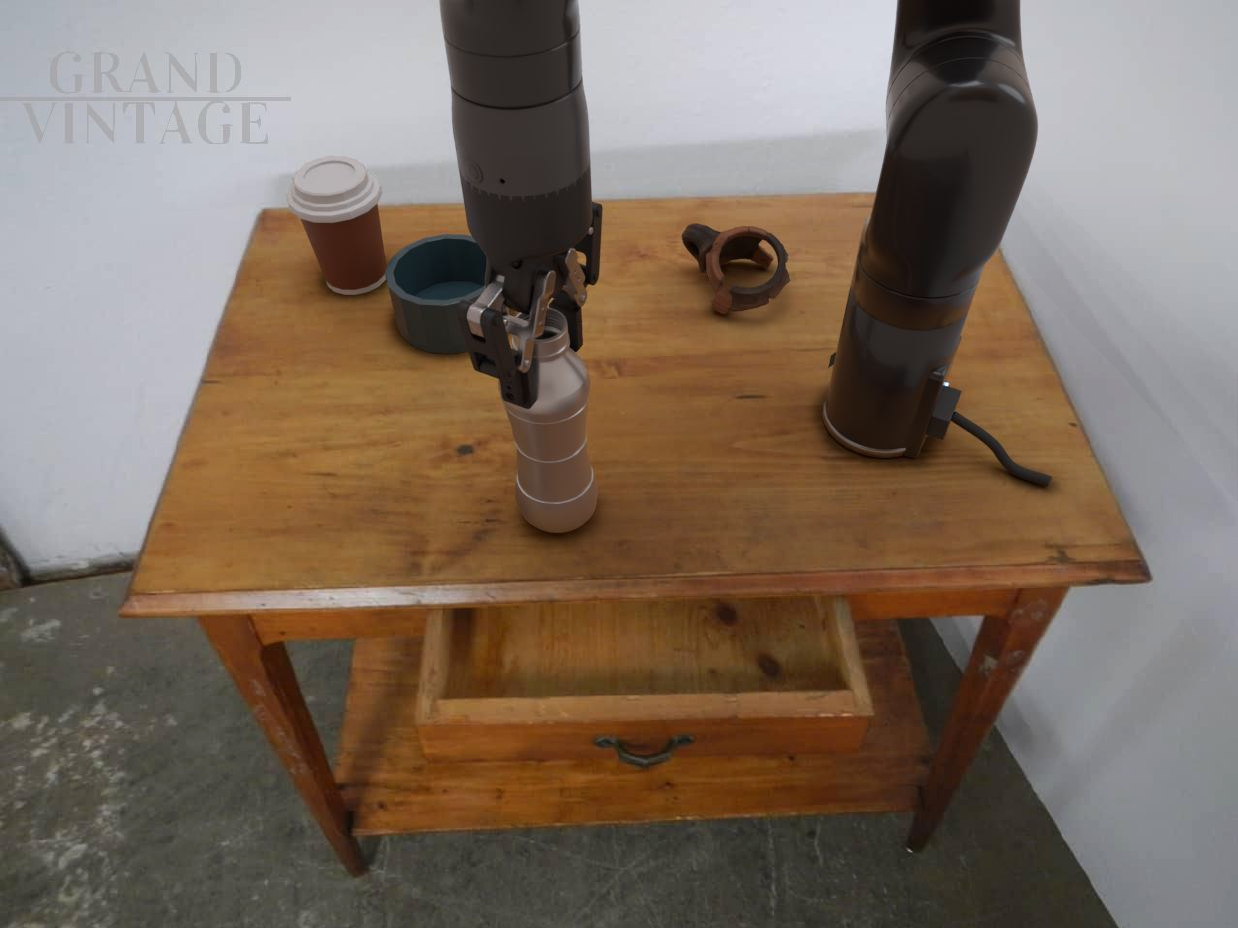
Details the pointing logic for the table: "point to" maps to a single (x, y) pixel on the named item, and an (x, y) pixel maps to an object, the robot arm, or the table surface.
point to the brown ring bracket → (731, 246)
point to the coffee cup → (341, 221)
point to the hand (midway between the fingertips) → (544, 372)
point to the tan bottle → (554, 434)
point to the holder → (435, 289)
